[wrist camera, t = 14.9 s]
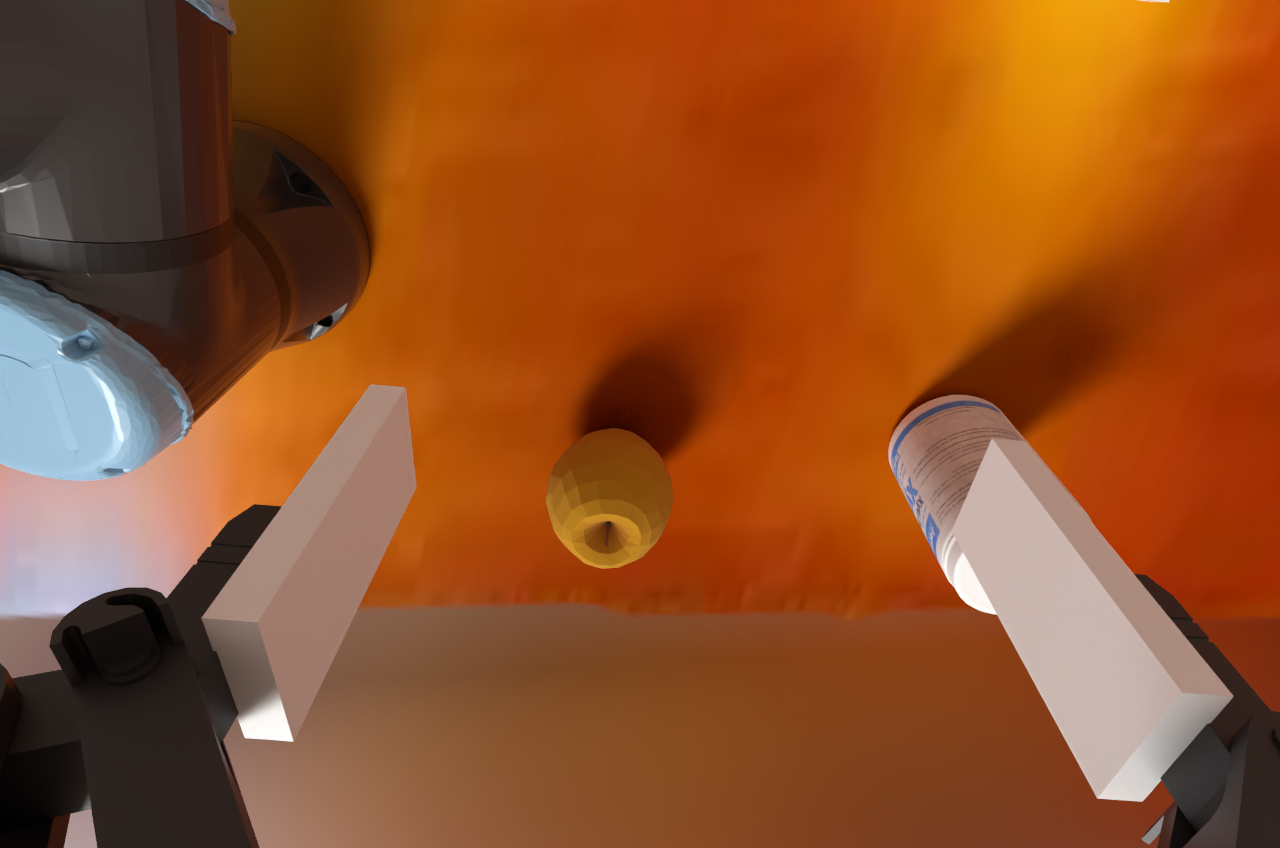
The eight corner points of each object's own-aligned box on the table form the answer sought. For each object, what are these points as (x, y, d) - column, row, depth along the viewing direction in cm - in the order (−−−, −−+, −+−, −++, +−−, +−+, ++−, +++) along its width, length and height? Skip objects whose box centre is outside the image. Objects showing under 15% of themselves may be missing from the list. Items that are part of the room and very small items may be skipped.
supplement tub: (861, 448, 57) (917, 575, 45) (952, 367, 53) (1043, 483, 41) (938, 504, 60) (1012, 638, 48) (1031, 431, 56) (1138, 558, 44)
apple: (671, 498, 60) (674, 598, 50) (561, 498, 61) (542, 597, 51) (672, 402, 55) (675, 492, 45) (551, 402, 55) (528, 492, 45)
